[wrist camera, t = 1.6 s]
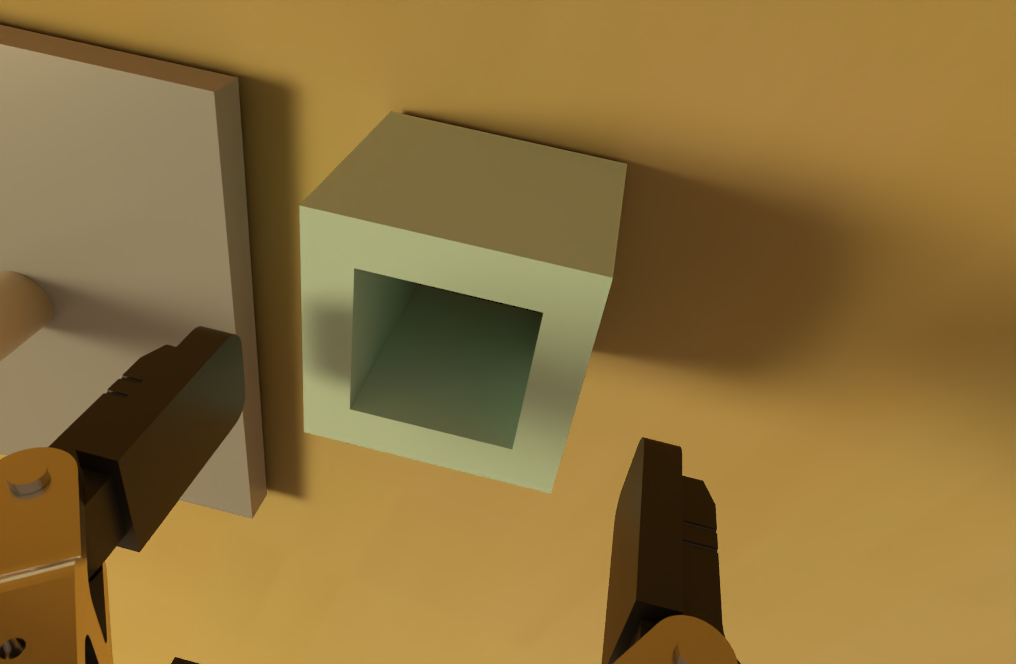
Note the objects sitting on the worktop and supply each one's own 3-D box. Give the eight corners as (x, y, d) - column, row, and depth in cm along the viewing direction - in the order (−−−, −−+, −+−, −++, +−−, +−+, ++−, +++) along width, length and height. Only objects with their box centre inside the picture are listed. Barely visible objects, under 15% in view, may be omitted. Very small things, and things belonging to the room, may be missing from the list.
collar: (390, 111, 18) (299, 205, 13) (627, 163, 18) (613, 278, 13) (379, 306, 21) (304, 432, 17) (576, 353, 21) (551, 493, 17)
